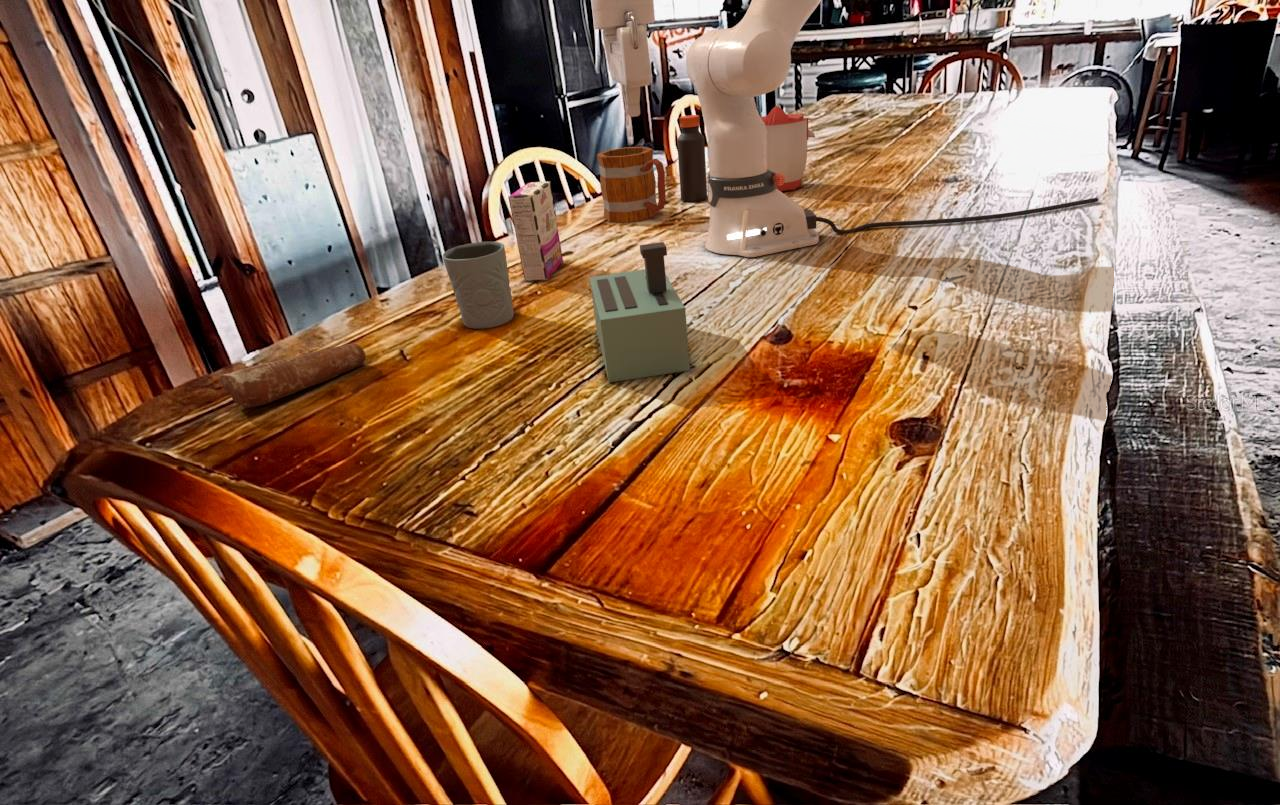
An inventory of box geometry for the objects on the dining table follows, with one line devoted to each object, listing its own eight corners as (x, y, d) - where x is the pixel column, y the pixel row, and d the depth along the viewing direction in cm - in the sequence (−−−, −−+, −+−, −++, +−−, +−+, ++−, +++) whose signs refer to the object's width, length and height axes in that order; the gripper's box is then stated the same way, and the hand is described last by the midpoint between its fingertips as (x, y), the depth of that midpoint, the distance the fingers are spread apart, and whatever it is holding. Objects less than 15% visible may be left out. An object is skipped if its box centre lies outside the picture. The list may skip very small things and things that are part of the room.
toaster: (666, 322, 110) (661, 265, 106) (689, 370, 94) (685, 306, 90) (596, 332, 109) (589, 275, 105) (608, 382, 94) (600, 318, 89)
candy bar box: (540, 263, 145) (527, 182, 137) (564, 262, 144) (551, 180, 136) (522, 282, 135) (506, 195, 127) (547, 281, 134) (532, 194, 126)
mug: (592, 218, 174) (584, 155, 167) (633, 206, 182) (627, 145, 174) (645, 229, 161) (638, 161, 153) (687, 215, 168) (683, 149, 161)
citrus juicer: (820, 190, 176) (822, 105, 167) (750, 197, 177) (749, 112, 168) (807, 178, 190) (809, 98, 181) (743, 184, 191) (741, 105, 182)
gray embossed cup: (489, 334, 113) (474, 261, 107) (445, 326, 118) (428, 256, 112) (530, 311, 120) (517, 242, 115) (486, 305, 125) (472, 238, 120)
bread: (230, 406, 98) (214, 371, 96) (360, 359, 109) (349, 325, 107) (242, 420, 94) (227, 383, 92) (377, 369, 105) (366, 335, 102)
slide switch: (667, 286, 97) (663, 241, 94) (670, 291, 95) (666, 246, 92) (644, 289, 97) (639, 245, 94) (646, 294, 95) (642, 249, 92)
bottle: (711, 196, 183) (708, 114, 173) (699, 202, 178) (695, 118, 168) (689, 195, 186) (683, 114, 177) (676, 201, 181) (670, 119, 172)
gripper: (656, 8, 92) (665, 120, 99) (635, 12, 110) (644, 107, 117) (609, 13, 92) (621, 125, 98) (595, 16, 110) (606, 111, 116)
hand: (633, 115), depth 108 cm, fingers closed
